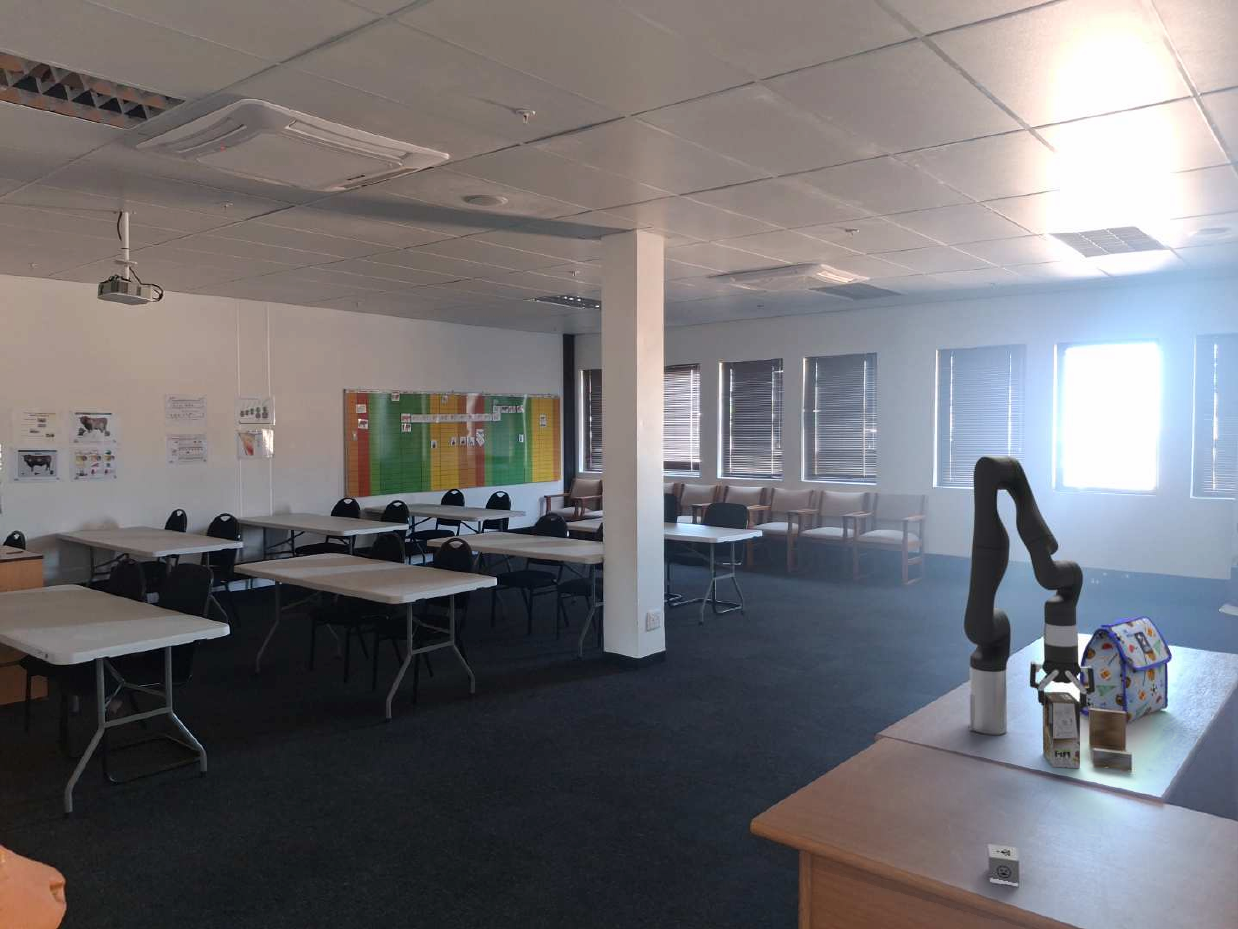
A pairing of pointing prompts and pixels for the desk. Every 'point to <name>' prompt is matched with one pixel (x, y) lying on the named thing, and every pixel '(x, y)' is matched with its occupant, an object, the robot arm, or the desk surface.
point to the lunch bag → (1127, 668)
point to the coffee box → (1061, 729)
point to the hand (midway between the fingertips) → (1062, 706)
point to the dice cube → (1003, 863)
